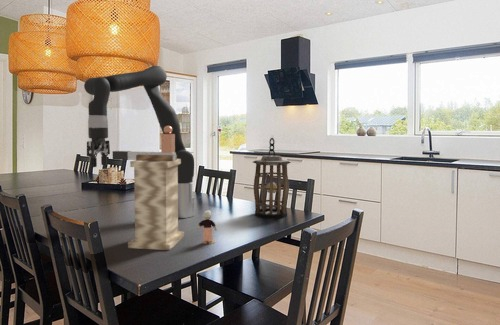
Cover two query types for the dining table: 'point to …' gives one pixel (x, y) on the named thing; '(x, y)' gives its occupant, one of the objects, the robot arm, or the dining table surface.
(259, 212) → the lantern
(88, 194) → the dining table surface
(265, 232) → the dining table surface
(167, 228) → the display stand
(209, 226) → the grandmother figurine
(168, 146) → the rod
